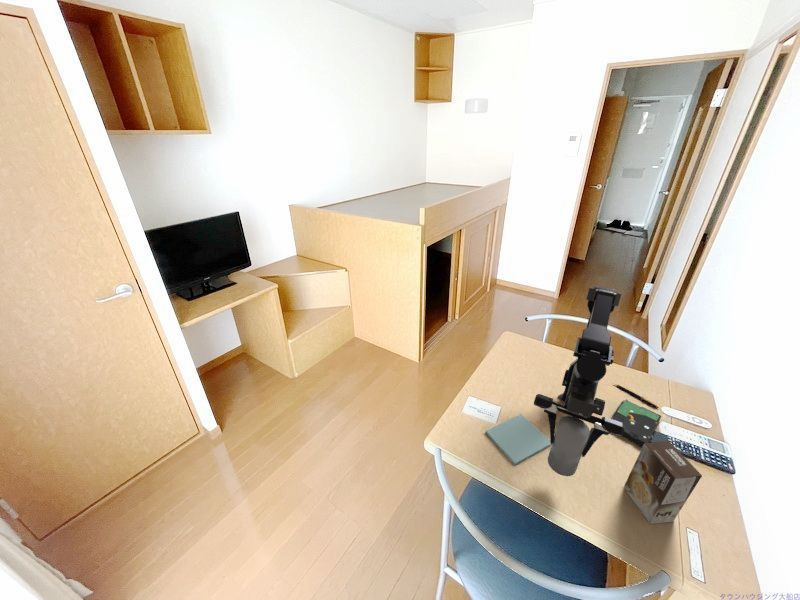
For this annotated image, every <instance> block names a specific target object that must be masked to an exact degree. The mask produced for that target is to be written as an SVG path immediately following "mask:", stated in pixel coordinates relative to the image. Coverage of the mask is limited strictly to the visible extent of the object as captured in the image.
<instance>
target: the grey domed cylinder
mask: <svg viewBox="0 0 800 600" xmlns="http://www.w3.org/2000/svg"><path fill="white" fill-rule="evenodd" d="M590 430H591V429H590V427H589V426H588V425H587V423H586V422H585V421H584V420H581V419H578V418H576V417H573V416H570V415H565V416H562V417H560V418H559V420H558V423H557V426H556V428H555V434H554V440H553V444H552V445H551V446H550V450H549V452H548V455H547V463H548V466H549V467H550V468H551V470H552V471H554V473H556V474H558V475H560V476H563V477H572V476H573V475H575V473H577V469H578V467H579V464H580V461H581V458H582V453H583V451H584V448H585V445H586V442H587V440H588V437H589V434H590Z"/></svg>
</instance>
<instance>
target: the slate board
mask: <svg viewBox="0 0 800 600" xmlns="http://www.w3.org/2000/svg"><path fill="white" fill-rule="evenodd" d="M485 434H486V435H487V436H488V437H489V438H490V439H491V441H492V442H493V443H494V444H495V445H496V446H497V447H498V449H499V450H500V451H501V452H502V454H504V455H505V456H506V457H507V458H508V459H509V460H510V462H511V463H512V464H513V465H514V466H517V465H518V464H520V463H522V462H524V461H526V460H527V459H529V458H532V456H534V455H536V454H538V453H540V452H541V451H543V450H545V449H547V448H549V447H551V446H552V444H551V442H550V439H549V438H548V437H546V435H545V434H543V433H542V432H541V431H540V430H539V429H538V428H537V427H536V426H535V425H533V423H532V422H530V421H529V420H528V419H527V418H526V417H525V416H524V415H523V414H522V413H520V414H518V415H516V416H513V417H512V418H509V419H508V420H505V421H503V422H500V423H499V424H496V425H494V426H493V427H491V428H488V429H486V430H485Z"/></svg>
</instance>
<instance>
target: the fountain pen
mask: <svg viewBox="0 0 800 600" xmlns="http://www.w3.org/2000/svg"><path fill="white" fill-rule="evenodd" d="M613 385H615V386H616V387H617V388H618V389H620V390H622V391H623V392H625V393H627V394H629V395H631V396H632V397H635V399H638V400H640V401H641V402H643V403H645V404H647V405H649V406H651V407H652V408H655V409H659V406H658V405H657V404H655V403H654V402H652V401H650V400H648V399H646V398H645V397H644V396H640V395H639V394H637V393H635V392H633V391H631V390H630V389H628V388H626V387H624V386H621V385H619V384H616V383H615V382H614V383H613Z"/></svg>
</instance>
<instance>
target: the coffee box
mask: <svg viewBox="0 0 800 600" xmlns="http://www.w3.org/2000/svg"><path fill="white" fill-rule="evenodd" d="M702 477H703V474H701V473H700V472H699V471H698V470H697V468H696V467H694V466H693V464H692V463H691V462H690V461H689V460H688V459H687V458H686V457H685V456H684V455H683V454H682V453H681V452H680V451H679V450H678V448H676V447H675V445H673V444H672V443H671V441H669V440H658V441H652V442H648V443H644V445H643V447H641V449H640V452H639V454H638V455H637V458H636V460H635V463H634V464H633V466H632V468H631V470H630V473H629V474H628V476H627V479H626V481H625V483H624V485H623V488H624V489H625V491H626V492H627V493H628V495H629V496H630V498H631V499H632V501H633V502H634V504H635V505H636V506H637V508H638V509H639V510H640V512H641V514H642V515H643V516H644V517H645V519H646V521H648V523H649V524H651V525H654V524H662V523H663V524H664V523H672V522H675V520H676V518H677V516H678V515H679V513H680V512H681V510H682V508H683V507H684V505H685V504H686V502H687V500H688V499H689V497H690V496H691V494H692V493H693V491H694V489H695V488H696V487H697V485H698V483H699V481H700V480H701V479H702Z"/></svg>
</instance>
